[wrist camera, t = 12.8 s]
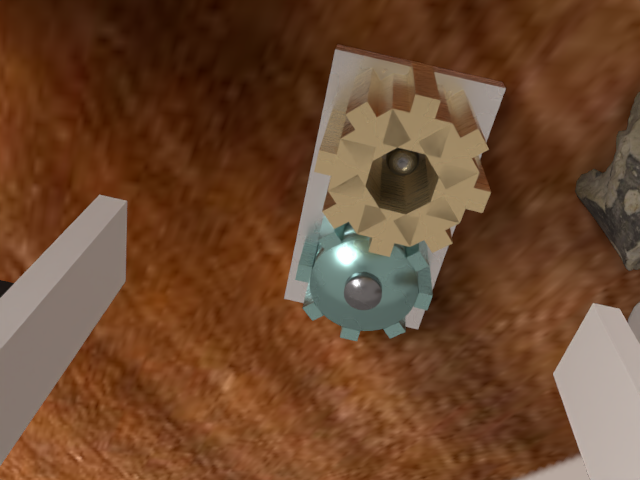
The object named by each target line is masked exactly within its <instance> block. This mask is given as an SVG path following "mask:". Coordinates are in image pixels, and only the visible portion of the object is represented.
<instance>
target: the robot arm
mask: <svg viewBox="0 0 640 480" xmlns="http://www.w3.org/2000/svg"><path fill="white" fill-rule="evenodd" d="M126 231H127V201H126V200H121V199H116V198H112V197H107V196H103V195H99V196H98V197H97V198H96V199H95V200H94V201H93V202H92V203H91V204H90V205H89V206H88V207H87V208H86V209H85V210H84V211H83V213H82V214H81V215H80V216H79V217H78V218H77V219H76V220H75V221H74V222H73V223H72V224H71V225H70V226H69V227H68V228H67V229H66V230H65V231H64V232H63V233H62V234H61V235H60V236H59V237H58V239H57V240H56V241H55V242H54V243H53V244H52V245H51V246H50V247H49V248H48V249H47V250H46V251H45V252H44V253H43V254H42V255H41V256H40V257H39V258H38V259H37V260H36V261H35V262H34V263H33V265H32V266H31V267H30V268H29V269H28V270H27V271H26V272H25V273H24V274H23V275H22V276H21V277H20V278H19V279H18V280H17V281H16V282H15V283H11V282H6V281H1V280H0V465H1V464H2V463H3V461H4V460H5V458H6V457H7V455H8V454H9V452H10V451H11V449H12V448H13V446H14V445H15V443H16V442H17V440H18V439H19V437H20V436H21V435H22V433H23V432H24V430H25V429H26V427H27V426H28V424H29V423H30V421H31V420H32V418H33V417H34V415H35V414H36V412H37V411H38V409H39V408H40V406H41V405H42V404H43V402H44V401H45V399H46V398H47V396H48V395H49V393H50V392H51V390H52V389H53V387H54V386H55V384H56V383H57V381H58V380H59V378H60V377H61V376H62V374H63V373H64V371H65V370H66V368H67V367H68V365H69V364H70V362H71V361H72V359H73V358H74V356H75V355H76V353H77V352H78V350H79V349H80V348H81V346H82V345H83V343H84V342H85V340H86V339H87V337H88V336H89V334H90V333H91V331H92V330H93V328H94V327H95V325H96V324H97V322H98V321H99V320H100V318H101V317H102V315H103V314H104V312H105V311H106V309H107V308H108V306H109V305H110V303H111V302H112V300H113V299H114V297H115V296H116V294H117V293H118V292H119V290H120V289H121V287H122V286H123V284H124V283H125V281H126ZM553 376H554V378H555V381H556V384H557V387H558V390H559V393H560V396H561V399H562V401H563V404H564V407H565V410H566V413H567V416H568V419H569V422H570V424H571V427H572V430H573V433H574V436H575V439H576V442H577V445H578V447H579V450H580V453H581V456H582V459H583V462H584V465H585V467H586V470H587V473H588V476H589V479H590V480H640V344H639V342H638V340H637V339H636V337H635V335H634V333H633V332H632V330H631V328H630V326H629V324H628V323H627V321H626V319H625V317H624V316H623V314H622V312H621V310H620V309H618V308H613V307H608V306H604V305H599V304H595V303H593V304H592V306H591V307H590V309H589V311H588V313H587V315H586V316H585V318H584V320H583V322H582V323H581V325H580V327H579V329H578V331H577V332H576V334H575V336H574V338H573V339H572V341H571V343H570V345H569V347H568V348H567V350H566V352H565V354H564V355H563V357H562V359H561V361H560V363H559V364H558V366H557V368H556V370H555V371H554V373H553Z"/></svg>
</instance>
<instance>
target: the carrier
mask: <svg viewBox="0 0 640 480" xmlns="http://www.w3.org/2000/svg"><path fill="white" fill-rule="evenodd" d="M411 63H412V61H409V60H405V59H401V58H396V57H392V56H387V55H383V54H379V53H374V52H370V51H366V50H361V49H357V48H353V47H348V46H344V45H340V44H337V46H336V49H335V53H334V58H333V63H332V67H331V72H330V77H329V82H328V87H327V92H326V97H325V102H324V107H323V111H322V116H321V121H320V126H319V131H318V136H317V141H316V146H315V151H314V155H313V160H312V165H311V170H310V175H309V180H308V185H307V190H306V195H305V199H304V204H303V209H302V214H301V219H300V224H299V229H298V234H297V239H296V243H295V248H294V253H293V258H292V263H291V268H290V273H289V278H288V283H287V287H286V292H285V297H284V299H288V300H293V301H297V302H301V303H304V304H303V309H304V311H305V312H306V313H307V314H308V316H309V317H310V318H311V319H312V321H313V320H315V319H317V318H319V317H321V316H323V315H325V316H326V317H327V318H328V319H330V320H331V321H333V322H334V323H336V324H338V325H340V326H341V333H340V337H341V338H345V339H349V340H354V341H357V340H358V336H359V333H360V331H373V330H379V329H383V330H384V331H385V332H386V334H387V335H388V336H389V338H393V337H395V336H397V335H400V334H402V333H404V332H406V327H410V328H414V329H418V328H419V326H420V323H421V320H422V317H423V315H424V312H425V310H428V307H429V304H430V302H431V299H432V296H433V293H432V290H433V287H434V285H435V282H436V279H437V276H438V274H439V271H440V268H441V265H442V263H443V260H444V257H445V254H446V252H447V249H448V246H449V245H448V246H446V247H444V248H442V249H440V250H438V251H435V252H433V253H432V252H431V250H430V249H429V247H428V245H427V244H426V242H425V241H424V240H423V241H421V242H419V243H417V244H415V245H413V246H411V247H408V246H404V245H400V244H396V243H394V246H393V249H392V252H391V255H390V257H388V256H383V255H379V254H375V253H371V252H368V249H369V237H367V236H363V235H359V234H357V233H356V232H355V230H354V229H353V227H352V226H351V224H350V223H349V222H347V223H345V224H343V225H341V226H339V227H337V228H335V229H334V228H333V227H332V225H331V224H330V222H329V221H328V219H327V218H326V216H325V215H324V214H323V212H322V210H323V206H324V202H325V198H326V194H327V190H328V186H329V182H330V178H331V176H329V175H325V174H321V173H317V172H314V170H315V166H316V161H317V157H318V152H319V149H320V146H321V143H322V139H323V136H324V133H325V130H326V127H327V124H328V121H329V118H330V115H331V112H332V109H336V110H340V111H344V112H346V111H347V107H348V103H349V99H350V95H351V91H352V87H353V83H354V79H355V78H356V77H357V76H359V75H361V74H362V73H364V72H366V71H367V70H369V69H370V68H372V67H373V69H374V70H375V72H376V74H377V76H378V77H379V79H380V81H381V80H382V79H384V78H386V77H387V76H389V75H391V74H392V73H396V74H400V75H404V76H408V73H409V70H410V66H411ZM433 70H434V74H435V78H436V82H437V84H440V85H442V86H443V87H444V89H445V91H446V93H447V95H448V97H451V96H452V95H454V94H456V93H458V92H460V91H461V90H464V92H465V94H466V96H467V98H468V99H469V101H470V103H471V105H472V107H473V110H474V112H475V115H476V117H477V120H478V122H479V125H480V127H481V130H482V133H483V135H484V138H485V140H486V142H487V139H488V136H489V134H490V131H491V128H492V125H493V123H494V120H495V117H496V114H497V112H498V109H499V106H500V103H501V101H502V98H503V95H504V93H505V90H506V88H505V86H504V84H503V83H502V82H501V81H496V80H492V79H488V78H483V77H479V76H475V75H470V74H466V73H462V72H457V71H453V70H448V69H444V68H440V67H435V66H433ZM421 154H422V153H418V152H414V151H410V150H406V149H402V148H398V147H397V148H396V149H394V150H392V151H390V152H388V153H386V154H385V155H383V156H381V157H382V158H383V159H386V163H387V166H388V168H389V169H390V171H391V172H393V173H394V174H396V175H399V176H406V175H409V174H411V173H412V172H414V171H415V170H416V168H417V167H418V164H419V155H421ZM481 156H482V153H481V154H479V158H481ZM455 227H456V225H455V226H453V227H451V228H450V230H451V235H453V232H454V230H455Z"/></svg>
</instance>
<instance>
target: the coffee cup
mask: <svg viewBox="0 0 640 480" xmlns="http://www.w3.org/2000/svg"><path fill="white" fill-rule="evenodd" d="M628 324H629V326H630V328H631V330H632V332H633V333H634V335H635V337H636V339H637V340H638V342H639V344H640V302H639V303H638V304H637V305H636V306H635V307H634V308H633V310H632V312H631V314H630V316H629V318H628Z"/></svg>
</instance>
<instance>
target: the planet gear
mask: <svg viewBox="0 0 640 480" xmlns="http://www.w3.org/2000/svg"><path fill="white" fill-rule="evenodd" d="M397 147H398V148H402V149H406V150H410V151H414V152H418V153H422V154H421V155H419V164H418V167H417V168H416V170H415V171H414V172H412V173H411V174H409V175H406V176H399V175H396V174H394V173H393V172H391V171H390V169H389V168H388V166H387V163H386V159H383V158H382V157H381V156H383V155H385V154H386V153H388V152H390V151H392V150H394V149H396V148H397ZM487 150H489V148H488V145H487V143H486V140H485V138H484V135H483V133H482V130H481V127H480V125H479V122H478V120H477V117H476V115H475V112H474V110H473V107H472V105H471V103H470V101H469V99H468V98H467V96H466V94H465V92H464V90H461V91H460V92H458V93H456V94H454V95H452V96H451V97H448V95H447V93H446V91H445V89H444V87H443V86H442V85H440V84H437V82H436V78H435V74H434V70H433V66H431V65H427V64H423V63H419V62H415V61H412V63H411V66H410V70H409V73H408V76H404V75H400V74H396V73H392V74H391V75H389V76H387V77H386V78H384V79H382V80H381V81H380V79H379V77H378V76H377V74H376V72H375V70H374V69H373V67H372V68H370V69H369V70H367V71H366V72H364V73H362V74H361V75H359V76H357V77H356V78H355V79H354V83H353V87H352V91H351V95H350V99H349V103H348V107H347V111H346V112H344V111H340V110H336V109H332V112H331V115H330V118H329V121H328V124H327V127H326V130H325V133H324V136H323V139H322V143H321V146H320V149H319V152H318V157H317V161H316V166H315V170H314V172H317V173H321V174H325V175H329V176H331V178H330V182H329V186H328V190H327V194H326V198H325V202H324V206H323V210H322V212H323V214H324V215H325V216H326V218H327V219H328V221H329V222H330V224H331V225H332V227H333V228H334V229H335V228H337V227H339V226H341V225H343V224H345V223H347V222H349V223H350V224H351V226H352V227H353V229H354V230H355V232H356V233H357V234H359V235H363V236H367V237H369V249H368V252H371V253H375V254H379V255H383V256H388V257H390V255H391V252H392V249H393V246H394V243H396V244H400V245H404V246H408V247H411V246H413V245H415V244H417V243H419V242H421V241H423V240H424V241H425V242H426V244H427V245H428V247H429V249H430V250H431V252H432V253H433V252H435V251H438V250H440V249H442V248H444V247H446V246H448V245H451V244H453V241H452V235H451V230H450V228H451V227H453V226H455V225H457V224H459V223H460V222H461V219H462V217H463V214H464V211H465V209H468V210H472V211H476V212H480V213H483V211H484V209H485V206H486V204H487V201H488V199H489V196H490V194H491V190H490V187H489V185H488V182H487V179H486V176H485V173H484V170H483V167H482V164H481V161H480V158H479V154H481V153H483V152H485V151H487Z"/></svg>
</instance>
